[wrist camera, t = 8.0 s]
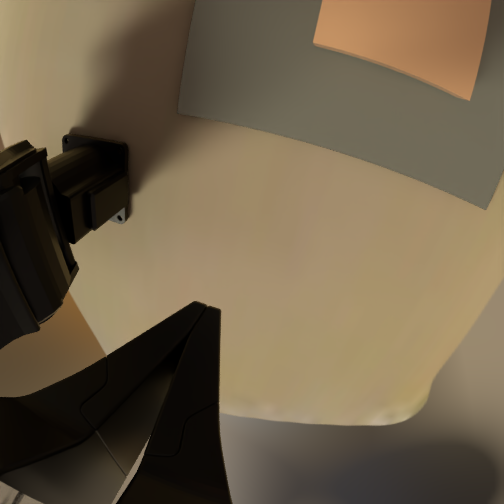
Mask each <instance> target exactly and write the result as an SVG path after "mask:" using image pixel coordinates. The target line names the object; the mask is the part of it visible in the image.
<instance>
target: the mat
mask: <svg viewBox="0 0 504 504" xmlns="http://www.w3.org/2000/svg"><path fill="white" fill-rule="evenodd" d="M321 4H322V0H196V1H195V6H194V11H193V16H192V21H191V26H190V31H189V37H188V43H187V48H186V54H185V60H184V67H183V73H182V80H181V87H180V94H179V102H178V110H177V114H183V115H189V116H194V117H200V118H205V119H210V120H215V121H220V122H225V123H230V124H234V125H239V126H243V127H248V128H252V129H256V130H261V131H265V132H269V133H273V134H277V135H281V136H284V137H288V138H292V139H296V140H299V141H303V142H306V143H310V144H313V145H317V146H320V147H324V148H327V149H330V150H333V151H337V152H340V153H343V154H346V155H349V156H352V157H355V158H358V159H361V160H364V161H367V162H370V163H373V164H376V165H379V166H381V167H384V168H387V169H390V170H392V171H395V172H398V173H400V174H403V175H406V176H408V177H411V178H413V179H416V180H418V181H421V182H423V183H426V184H428V185H431V186H433V187H435V188H438V189H440V190H442V191H445V192H447V193H449V194H452V195H454V196H456V197H458V198H461V199H463V200H465V201H467V202H469V203H472V204H474V205H476V206H478V207H480V208H482V209H484V210H486V209H487V207H488V205H489V203H490V201H491V198H492V196H493V194H494V192H495V189H496V187H497V185H498V182H499V180H500V177H501V175H502V172H503V170H504V0H491V7H490V14H489V20H488V26H487V31H486V37H485V42H484V47H483V51H482V56H481V60H480V64H479V69H478V73H477V76H476V80H475V84H474V88H473V91H472V95H471V98H470V101H468V100H464V99H461V98H457V97H455V96H453V95H451V94H449V93H446V92H444V91H442V90H440V89H438V88H436V87H433V86H431V85H429V84H427V83H424V82H422V81H420V80H417V79H415V78H412V77H410V76H407V75H405V74H402V73H400V72H397V71H394V70H392V69H389V68H386V67H384V66H381V65H378V64H375V63H372V62H369V61H366V60H363V59H360V58H356V57H353V56H350V55H346V54H343V53H339V52H336V51H332V50H328V49H325V48H321V47H317V46H315V45H314V44H313V39H314V35H315V31H316V26H317V22H318V18H319V13H320V9H321Z"/></svg>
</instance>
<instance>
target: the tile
mask: <svg viewBox="0 0 504 504" xmlns="http://www.w3.org/2000/svg"><path fill="white" fill-rule="evenodd" d="M490 7H491V0H322V4H321V9H320V13H319V18H318V22H317V26H316V31H315V35H314V39H313V44H314V45H315V46H317V47H321V48H325V49H328V50H332V51H336V52H339V53H343V54H346V55H350V56H353V57H356V58H360V59H363V60H366V61H369V62H372V63H375V64H378V65H381V66H384V67H386V68H389V69H392V70H394V71H397V72H400V73H402V74H405V75H407V76H410V77H412V78H415V79H417V80H420V81H422V82H424V83H427V84H429V85H431V86H433V87H436V88H438V89H440V90H442V91H444V92H446V93H449V94H451V95H453V96H455V97H457V98H461V99H464V100H468V101H470V98H471V95H472V91H473V88H474V84H475V80H476V76H477V73H478V69H479V64H480V60H481V56H482V51H483V47H484V42H485V37H486V31H487V26H488V20H489V14H490Z"/></svg>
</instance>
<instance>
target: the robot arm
mask: <svg viewBox="0 0 504 504" xmlns="http://www.w3.org/2000/svg"><path fill="white" fill-rule="evenodd" d="M68 141H69V142H68ZM62 147H63V153H62V154H60V155H58V156H56V157H53V158H51V159H49V160H47V156H48V155H47V150H46V147H45V148H39V149H36V148H34V146H32V145H31V144H30V143H29V142H28V141H27V140H24V141H21V142H18V143H16V144H14V145H11V146H9V147H7V148H5V149H3V150H1V151H0V349H1V348H3V347H4V346H5V345H7V344H8V343H10V342H11V341H13V340H15V339H17V338H19V337H21V336H23V335H26V334H30V333H34V332H37V331H39V330H40V326H39V325H40V324H41V323H44V322H45V321H47V320H48V319H50V318H51V317H52V316H53V315H54V314H55V313H56V312H57V310H58V309H59V308H60V307H61V306H62V304H63V299H64V297H65V295H66V293H67V291H68V289H69V287H70V285H71V283H72V282H73V280H74V278H75V276H76V274H77V272H78V270H79V267H78V264H77V262H76V261H75V259H74V256H73V253H72V250H71V247H70V244H69V243H71V244H75V243H76V242H78V241H79V240H80V239H81V238H83V237H84V236H85V235H86V234H87V233H89V232H90V231H91V230H94V231H95V230H97V229H98V228H99V227H100V226H102V225H103V224H104V223H105V222H107V221H108V220H110V221H113V222H116V223H119V224H123V223H125V222H126V221H127V219H128V147H127V145H126V144H125V143H123V142H118V141H112V140H106V139H100V138H94V137H88V136H82V135H75V134H66V135H64V136H63V139H62ZM120 148H121V149H122V152H121V151H120ZM120 216H121V217H122V218H121V217H120ZM220 335H221V310H220V309H218V308H215V307H212V306H208V307H207V305H206V304H204V303H201V302H198V301H194V302H192V303H190V304H189V305H187V306H185V307H184V308H182V309H181V310H179V311H177V312H176V313H174V314H173V315H171V316H170V317H168V318H166V319H165V320H163V321H162V322H160V323H158V324H157V325H155V326H154V327H152V328H150V329H149V330H147V331H146V332H144V333H142V334H141V335H139V336H138V337H136V338H134V339H133V340H131V341H130V342H128V343H126V344H125V345H123V346H122V347H120V348H118V349H117V350H115V351H114V352H112V353H110V354H109V355H107V357H104V358H102V359H101V360H99V361H97V362H96V363H94V364H92V365H91V366H89V367H87V368H85V369H84V370H82V371H80V372H78V373H76V374H74V375H72V376H70V377H68V378H65V379H63V380H61V381H59V382H57V383H55V384H53V385H50V386H48V387H46V388H43V389H42V390H39V391H37V392H35V393H32V394H29V395H26V396H21V397H0V504H111V503H112V502H113V500H114V498H115V496H116V495H117V493H118V491H119V490H120V488H121V486H122V484H123V483H124V481H125V479H126V476H127V475H128V474H129V472H130V470H131V468H132V467H133V465H134V463H135V462H136V460H137V458H138V456H139V455H140V453H141V451H142V449H143V448H144V446H145V444H146V442H147V441H148V439H149V437H150V439H149V441H148V444H147V447H146V450H145V452H144V456H143V458H142V461H141V464H140V466H139V468H138V470H137V472H136V474H135V475H134V477H133V479H132V480H131V482H130V483H129V485H128V486H127V488H126V489H125V491H124V492H123V494H122V495H121V497H120V498H119V500H118V501H117V503H116V504H232V500H231V496H230V491H229V486H228V480H227V475H226V469H225V463H224V458H223V452H222V445H221V437H220V421H219V386H220ZM150 435H151V436H150Z"/></svg>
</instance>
